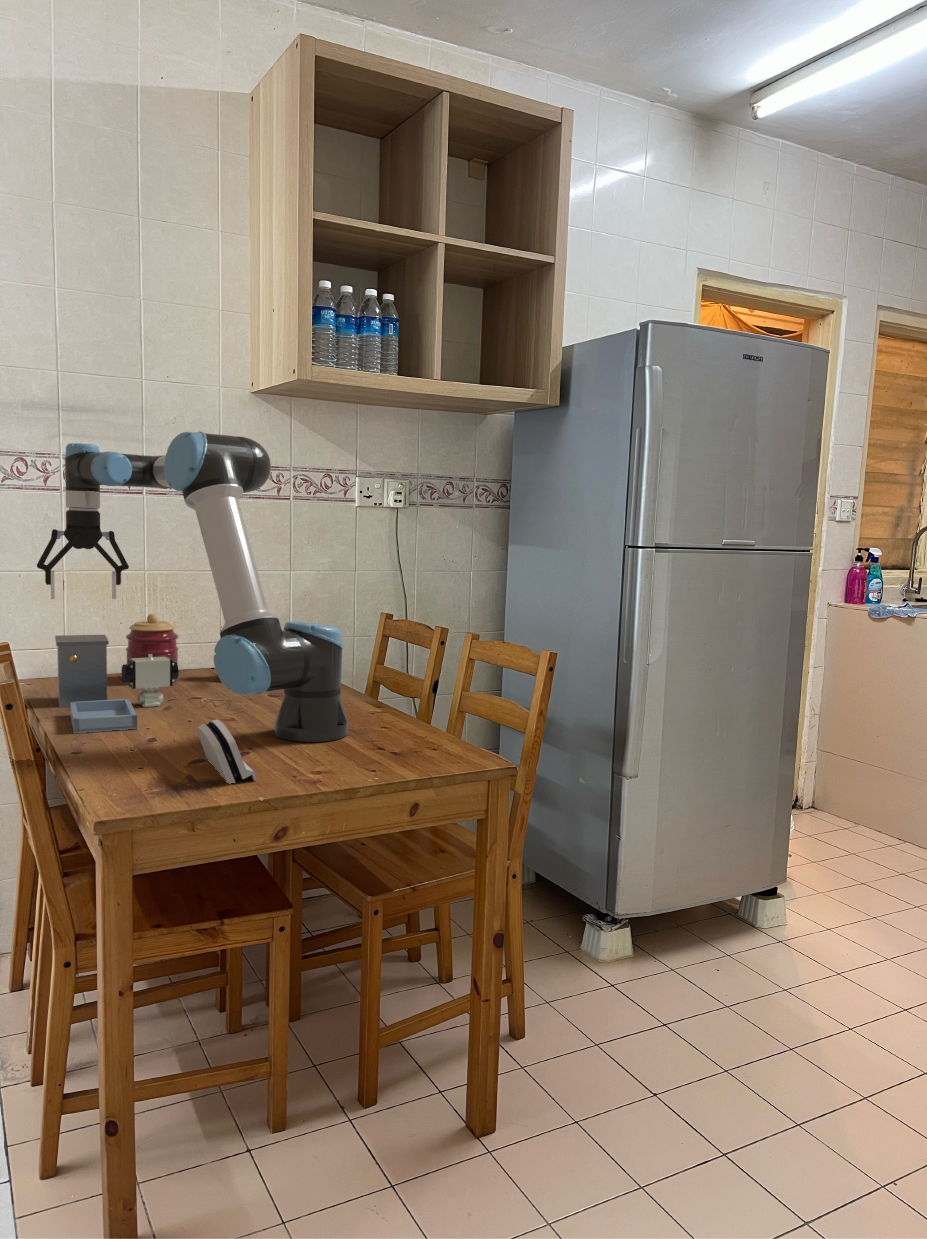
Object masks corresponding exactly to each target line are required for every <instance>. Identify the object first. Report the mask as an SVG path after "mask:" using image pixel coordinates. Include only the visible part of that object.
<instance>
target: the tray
mask: <svg viewBox="0 0 927 1239" xmlns="http://www.w3.org/2000/svg"><path fill="white" fill-rule="evenodd" d="M69 708H70V709H69V710H70V712H69V713H70V721H71V726H72V730H73V734H85V733H87V732H89V733H101V732H102V731H105V732H113V731H112V730H120V731H129V730H128V729H135V730H138V714H137V713H136V710H135V708H134V706H133V705H132V702H131V700H130V699H129V698H121V699H120V698H119V699H107V700H97V701H78V702H70V707H69ZM126 729H127V730H126Z"/></svg>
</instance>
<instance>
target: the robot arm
mask: <svg viewBox="0 0 927 1239" xmlns="http://www.w3.org/2000/svg"><path fill="white" fill-rule="evenodd" d="M100 451H101V450H100V447H99V446H98V445H97V444H93V443H74V442H71V443H68V444H67V445H66V446H65V455H64V456H65V457H64V466H65V468H64V469H65V475H64V476H65V507H66V508H67V510H66V511H65V529H64V530H59V529H56V528H53V529H52V530H51V535H50V539H49V541H48V543H47V545H46V547H45V549H44V550H43V551H42V553H41V555H40V557H39V560H38V561H37V564H36V568H37V569H40V570H42V571H44V573H45V574H44V578H45V580H44V581H45V582H44V583H45V585H47V586H50V600H55V597H56V596H55V595H56V594H55V570H52V569H53V568H54V567H55V566H56V565H57V564H58V563H60V561H61V560H62V559H63V558H64V556H65V555H66V554H67V553H68V552H69V551H70V550H71V549H72V548H73V549H76V550H81V549H86V550H92V549H94V548H95V549H96V550H97V551H98V553H99V554H100V555H101V557H103V558H104V560H105V561H107V562H108V564H109V565H110V566H111V567H112V568H113V569H114V570H113V571H111V598H112V600H117V586H121V584H122V572H123V571H126V570H129V567H130V565H129V564H128V562H127V559H126V557H125V556H124V554H123V552H122V551H121V548H120V547H119V545H118V542H117V541H116V536H115V532H114V530H108V531H102V530H101V512H100V511H99V509H101V486H107V487H131V488H132V487H134V488H151V489H152V488H153V489H164V490H168V489H173V490H175V491H177V492H181V493H182V496H183V499H184V503H185V505H186V506H187V507H188V508H190V509H191V510H193V511H195V514H196V515H195V516H196V519H197V521H198V522H197V523H198V525H199V529H200V533H201V537H202V541H203V546H204V548H205V552H206V557H207V559H208V562H209V563H208V564H209V568H210V571H211V574H212V578H213V583H214V586H215V590H216V593H217V596H218V601H219V605H220V608H221V612H222V616H223V619H224V624H223V626H222V627H221V628H220V631H219V636H220V638H219V639H218V641H217V642H216V644H215V646H214V650H213V652H214V653H215V654H214V655H213V665H214V668H215V672H216V675H217V676H218V679H219V680H220V682H221V684H223V686H224V687H226V688H227V689H228V690H230V691H231V692H232V693H234V694H236V695H239V696H240V695H241V696H243V695H244V696H245V695H261V694H263V693H267V692H272V691H281V690H283V698H282V701H281V704H280V707H279V710H278V713H277V716H276V718H275V721H274V735H275V736H276V737H278V738H279V739H283V740H286V741H291V742H292V741H293V742H300V743H301V742H302V743H317V742H318V743H319V742H321V743H322V742H329V741H335V740H339V739H342V738H345V737H347V736H348V735H349V720H348V717H347V714H346V711H345V707H344V705H343V701H342V696H341V695H342V693H341V692H342V691H341V688H342V664H343V663H342V661H343V660H342V658H343V655H342V654H343V647H344V646H343V644H342V631H341V630H340V629H339V628H338V627H336V626H332V625H328V624H327V625H326V624H319V623H312V622H301V621H286V622H285V624H284V627H283V628H282V626H281V622H280V619H279V617H278V616H277V615H275V614H273V613H271V612H270V611H269V608H268V604H267V601H266V598H265V593H264V590H263V586H262V583H261V580H260V576H259V572H258V568H257V565H256V562H255V558H254V554H253V553H254V552H253V551H252V546H251V542H250V539H249V535H248V531H247V527H246V524H245V520H244V517H243V513H242V509H241V507H240V503H239V501H240V499H241V497H242V496H243V495H244V493H251V492H254V491H257V490H259V489H260V488H262V487H263V486H264V485H265V484H266V482H267V481H268V479H269V477H270V474H271V470H272V464H271V458H270V456H269V454H268V451H267V450H266V449H265V447H264V446H262V444H260V442H259V443H258V442H257V441H256V440H253V439H252V438H249V437H246V436H245V437H244V436H234V435H225V434H218V433H217V434H215V433H206V432H204V431H200V430H199V431H197V432H196V431H183V432H180V433H179V434H177V435H176V436H174V438H173V439H172V440H171V441H170V444H169V445H168V448H167V450H166V454H164V455H145V454H143V455H142V454H133V453H131V454H130V453H120V452H116V451H102V452H100ZM62 536H64V538H65V539H66V540H67V541H68V542H67V543H66V544H65V545H64V546H63V547H62V548H61V549H60V551H59V552H58V553H57V554H56V555H55V556H54V557H53V558H52V559H51V560H50V561H49V562H48V563H47V564H45V562H46V561H47V559H48V558H49V555H50V554H51V552H52V550H53V548H54V546H55V544H56V543H57V540H59V539H61V537H62ZM103 537H104V538H105V540H107V541H109V543H110V545H111V547H112V548H113V551H114V553H115V555H116V557H117V558H118V560H119V563H120V565H119V564H117V562H116V561H115V560H114V559H113V558H112V556H110V555H109V553H108V552H107V551H106V550H105V548H103V546H101V544H99V542H100V540H101V539H102V538H103Z"/></svg>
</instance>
